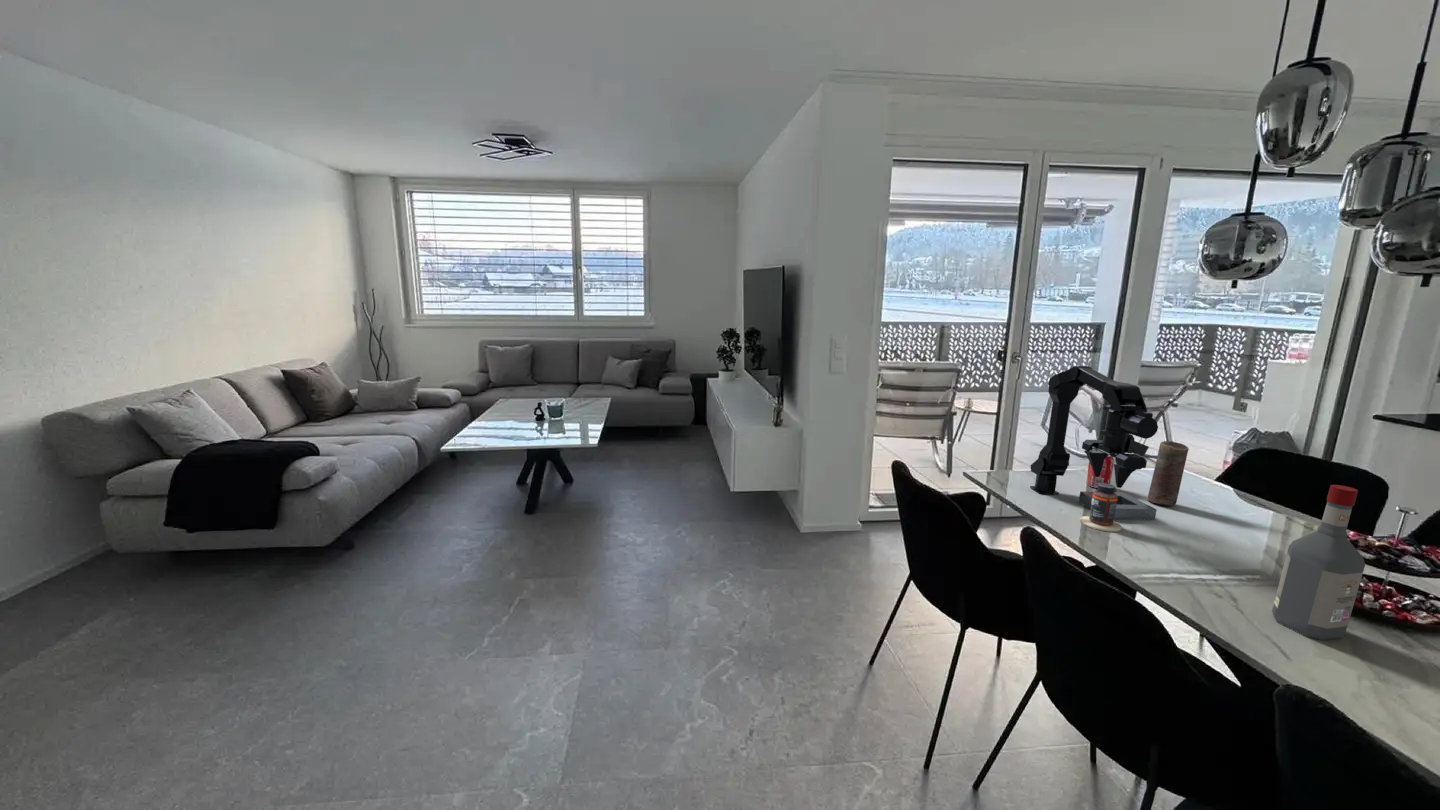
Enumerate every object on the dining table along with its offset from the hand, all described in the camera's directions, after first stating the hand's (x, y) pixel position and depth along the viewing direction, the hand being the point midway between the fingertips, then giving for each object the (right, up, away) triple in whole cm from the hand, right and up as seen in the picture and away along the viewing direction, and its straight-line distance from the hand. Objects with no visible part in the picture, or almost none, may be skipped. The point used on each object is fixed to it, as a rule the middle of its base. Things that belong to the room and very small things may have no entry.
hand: (1107, 482), depth 163 cm
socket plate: (+11, -11, +13) cm, 21 cm away
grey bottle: (+9, -24, -46) cm, 53 cm away
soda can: (+20, -7, +35) cm, 41 cm away
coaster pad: (0, -13, +2) cm, 13 cm away
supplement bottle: (0, -12, +2) cm, 13 cm away
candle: (+31, -10, +21) cm, 39 cm away
